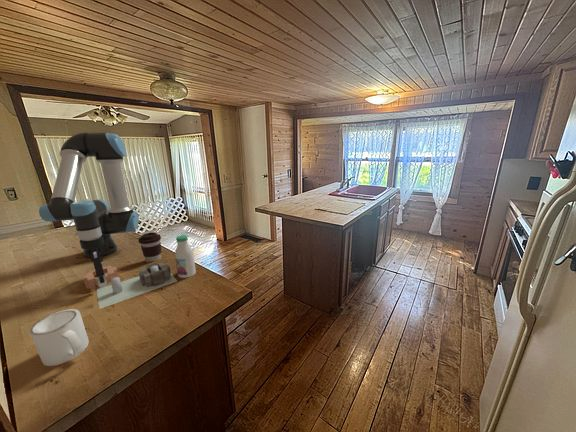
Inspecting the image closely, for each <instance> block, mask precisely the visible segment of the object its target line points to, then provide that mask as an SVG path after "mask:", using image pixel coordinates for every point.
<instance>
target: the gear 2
mask: <svg viewBox="0 0 576 432" xmlns="http://www.w3.org/2000/svg"><path fill="white" fill-rule="evenodd" d="M152 266H158V270H159V271H156V272H152V273H151V270H150V267H152ZM171 274H172V272H171V267H170V265H169V263H164V261H162V262H159V263H157V262H156V263H155V262H154V263H151V264H148V265H146V267H142V268H140V271H138V276H139V277H140V282H141V284H142V286H144V285H146V286H147V287H150V286H152V285H154V286H157V285H160V284H163V283H165V281H168V280H170V277H171Z"/></svg>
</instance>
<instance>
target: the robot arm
mask: <svg viewBox="0 0 576 432" xmlns="http://www.w3.org/2000/svg"><path fill="white" fill-rule="evenodd" d="M126 149H127V148H126V146H125V144H124V141H123V140H122V137H120V135H118V134H116V133H110V132H78V133H75V134H73V135H72V136H70V137H69V138H67V139H66V140H65V142H64V143H63V144H62V146H61V148H60V151H59V157H60V158H61V159H60V163H59V167H58V171H57V175H56V178H55V183H54V186H53V190H52V195H51V197H50V201H49V203H44V204H42V205H41V206H39V209H38V215H39V217H40V218H41V220H43V221H45V222H61V221H63V222H64V221H71V220H73V222H74V227H75V229H76V232H75V233H74V234H75V235H77V237H78V239H79V244H80V248H81V249H82V253H83V257H85V258H89V259H90V261H91V262H92V263H93V269H95V272H96V275H95V276H94V277H97V280H98V284H99V286H98V287H99V288H102V287H106V286H108V284H107V281H106V277H105V273H104V271H103V267H102V266H104V265H103V262H104V259H103V257H104V256H107V255H110V254H113V253H114V252H116V251H117V250H118V246H117V243H116V242H115V240H114V239H113V238H112V236H111V234H123V233H124V234H125V233H127V234H128V233H131V232H135V231H136V230H137V229H138V226H139V221H140V220H139V217H140V216H139V214H138V213H139V212H138V211H137V210H134V208H133V207H132V206H130V202H129V198H128V194H127V187H126V183H125V178H124V173H123V168H122V162H123V161H124V157H126V156H127V150H126ZM89 157H90V158H91V157H95V160H96V162H98V163H100V165H101V171H102V176H103V180H104V184H105V188H106V193H107V197H108V202H109V203H108V202H106V201H105V200H103V199H93V200H87V199H86V200H80V201H76V196H77V191H78V187H79V182H80V179H81V177H80V176H81V171H82V169H83V163H85V162H86V161H87V158H89ZM98 273H99V274H98ZM99 288H98V289H99Z"/></svg>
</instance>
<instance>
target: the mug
mask: <svg viewBox="0 0 576 432" xmlns="http://www.w3.org/2000/svg"><path fill="white" fill-rule="evenodd" d="M83 321H84V320H83V318H82V315H81V311H80V310H78V309H75V308H67V309H63V310H58V311H56V312H53V313H51V314H47V315H46V316H45V317H43V318H41V319H39V320H38V321H37V322H35V323H34V324H33V325H32V327H30V330H29V333H30V336H31V338H32V340H33V344H34V346H35V348H36V350H37V353H38V356H39V358H40V360H41V363H42V364H43V366H47V367H55V366H59V365H61V364H65V363H67V362H69V361H71V360H73V359H74V358H76V357H78V356H79V355H81V354H82V353H84V351H85V350H86V348H87V347H88V345H89V342H90V341H89V337H88V334H87V331H86V328H85V324H84V322H83Z"/></svg>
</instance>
